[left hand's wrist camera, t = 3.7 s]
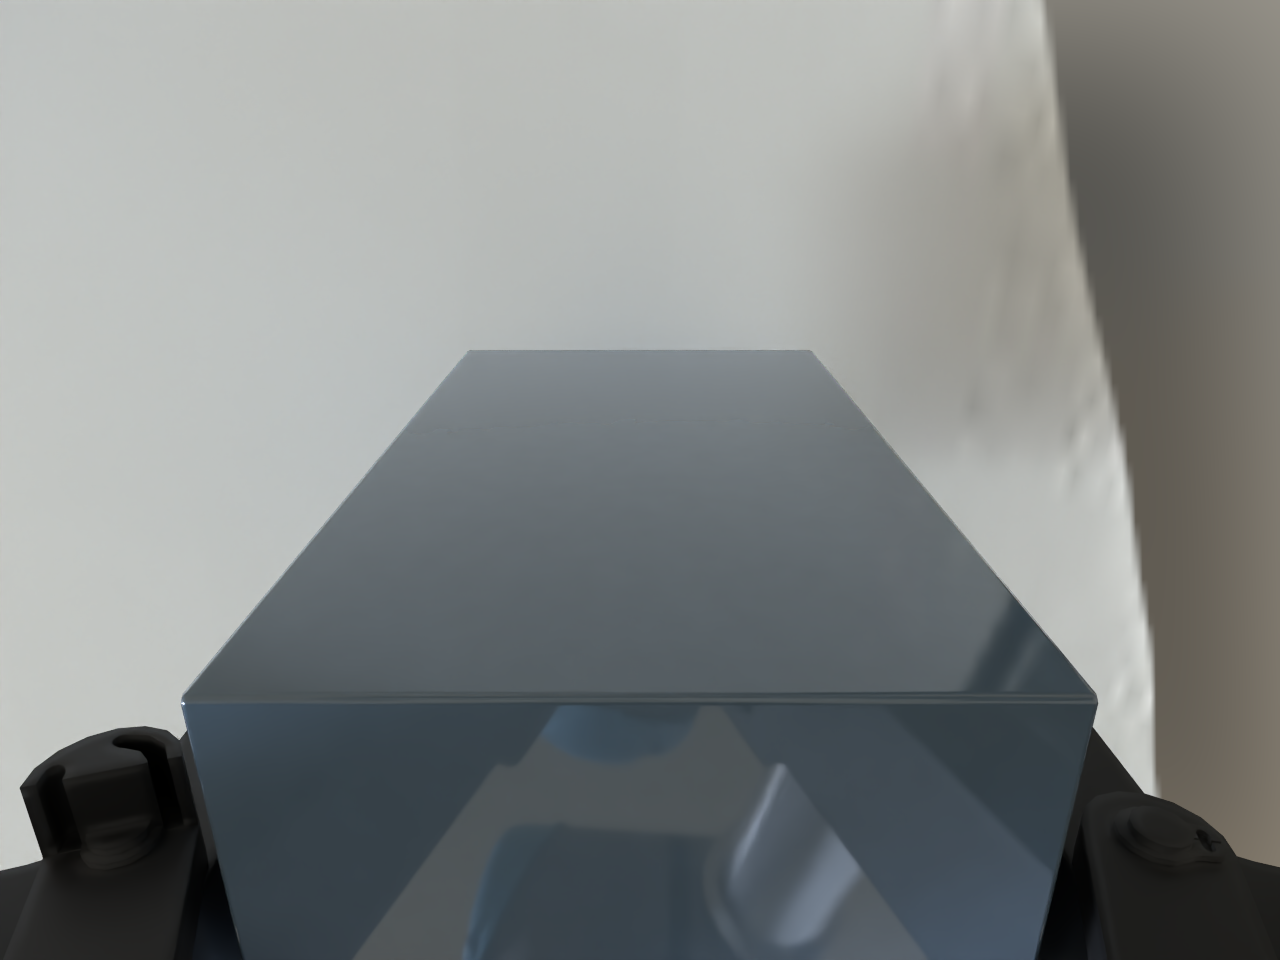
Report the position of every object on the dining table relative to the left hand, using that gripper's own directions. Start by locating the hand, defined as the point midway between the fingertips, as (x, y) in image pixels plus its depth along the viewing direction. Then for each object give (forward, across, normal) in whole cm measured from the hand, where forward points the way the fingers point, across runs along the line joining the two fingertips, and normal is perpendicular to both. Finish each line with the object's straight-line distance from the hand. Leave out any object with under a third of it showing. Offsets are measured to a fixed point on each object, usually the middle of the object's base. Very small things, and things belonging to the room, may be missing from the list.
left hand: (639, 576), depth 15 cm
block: (+3, 0, 0) cm, 3 cm away
